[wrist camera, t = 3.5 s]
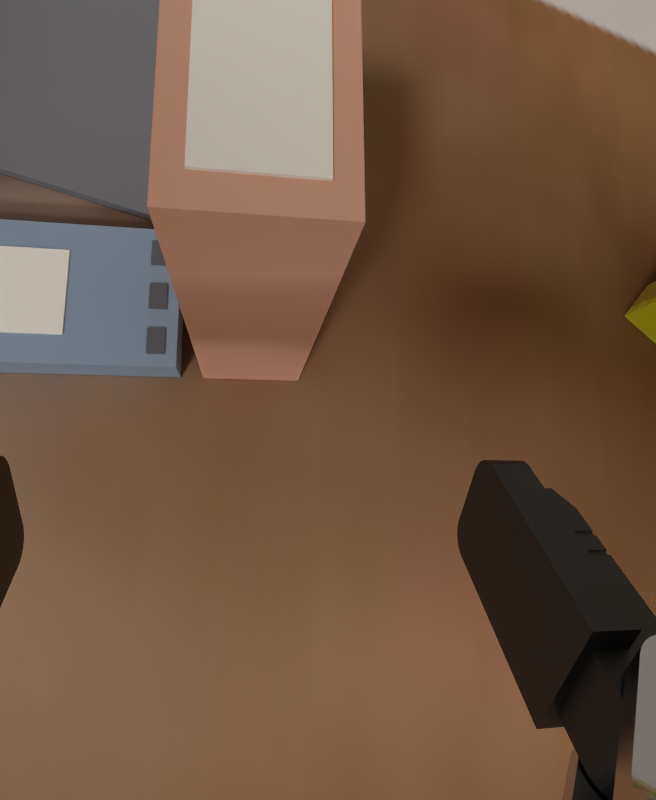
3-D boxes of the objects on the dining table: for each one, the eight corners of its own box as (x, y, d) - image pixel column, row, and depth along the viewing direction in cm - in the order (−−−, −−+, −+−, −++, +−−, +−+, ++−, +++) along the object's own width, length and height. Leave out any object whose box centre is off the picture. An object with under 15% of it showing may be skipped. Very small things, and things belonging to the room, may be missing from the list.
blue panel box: (-189, 367, 18) (-228, 354, 17) (-165, 228, 19) (-200, 205, 18) (180, 377, 20) (175, 366, 19) (186, 249, 21) (182, 230, 20)
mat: (-126, 134, 20) (-134, 127, 20) (-1, -110, 23) (-6, -120, 22) (195, 233, 21) (194, 228, 21) (279, -10, 24) (279, -18, 24)
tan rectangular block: (201, 378, 20) (140, 204, 9) (205, 251, 21) (157, -63, 9) (298, 380, 21) (366, 219, 9) (298, 257, 22) (361, -34, 10)
